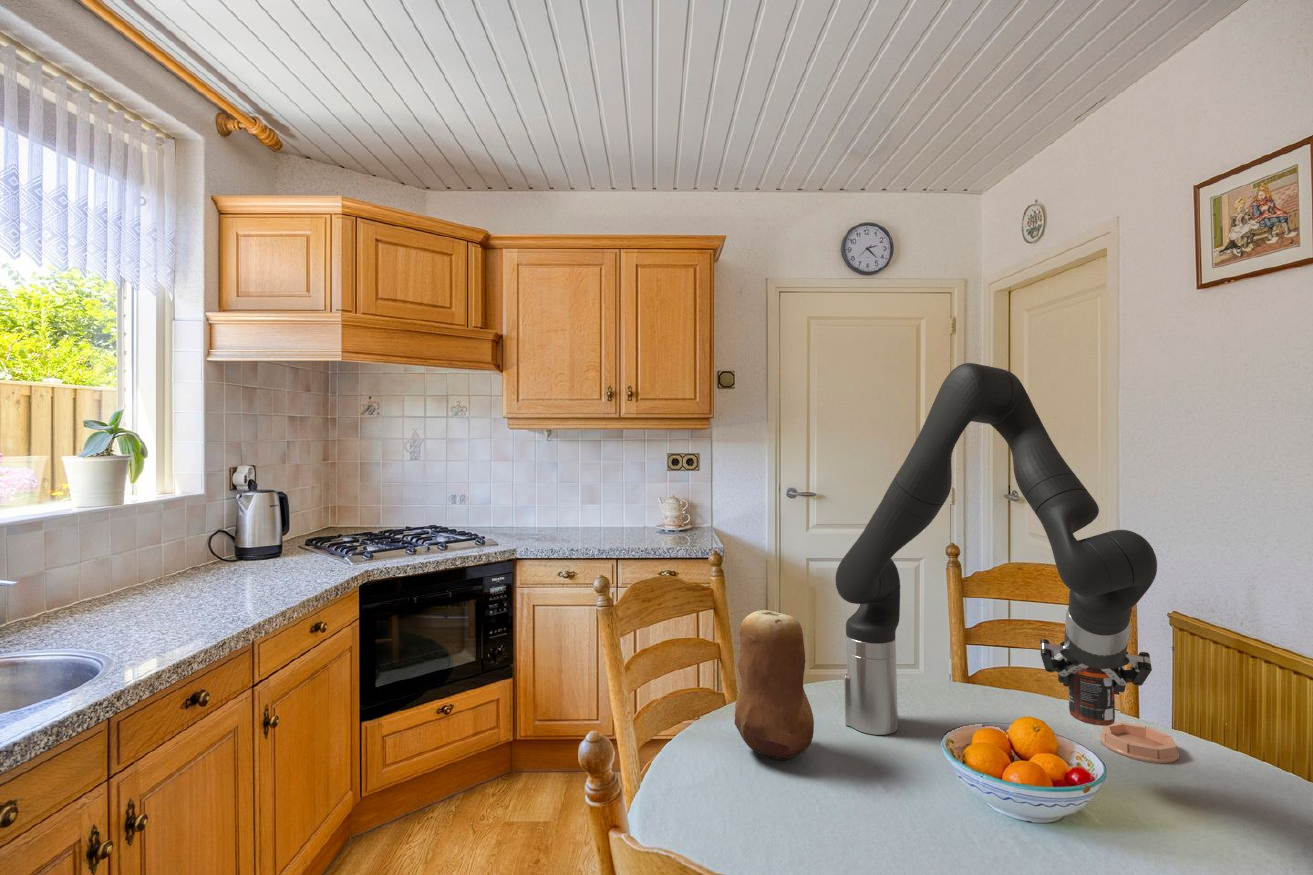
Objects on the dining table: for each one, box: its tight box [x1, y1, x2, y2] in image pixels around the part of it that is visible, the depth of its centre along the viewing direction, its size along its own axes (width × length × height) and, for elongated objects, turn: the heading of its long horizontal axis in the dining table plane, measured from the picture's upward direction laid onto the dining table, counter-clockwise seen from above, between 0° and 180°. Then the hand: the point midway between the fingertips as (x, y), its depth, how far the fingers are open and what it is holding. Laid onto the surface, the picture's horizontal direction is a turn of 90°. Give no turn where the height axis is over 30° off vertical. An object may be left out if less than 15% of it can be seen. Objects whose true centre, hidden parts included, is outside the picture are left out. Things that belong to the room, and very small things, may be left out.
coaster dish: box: [1099, 721, 1180, 764], centre depth 108 cm, size 11×11×2 cm
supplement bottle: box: [1068, 669, 1116, 726], centre depth 96 cm, size 6×6×11 cm
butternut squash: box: [734, 609, 815, 761], centre depth 109 cm, size 14×13×25 cm
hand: (1089, 684), depth 98 cm, fingers closed on supplement bottle, 6 cm apart
